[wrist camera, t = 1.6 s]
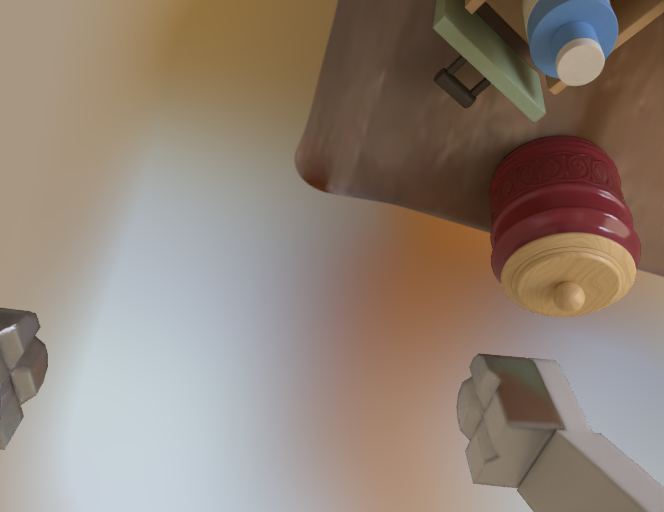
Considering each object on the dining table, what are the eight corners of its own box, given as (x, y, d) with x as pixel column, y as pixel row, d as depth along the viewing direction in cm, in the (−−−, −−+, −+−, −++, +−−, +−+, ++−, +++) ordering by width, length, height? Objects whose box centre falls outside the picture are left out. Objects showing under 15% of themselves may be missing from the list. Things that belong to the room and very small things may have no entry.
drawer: (493, 112, 50) (495, 152, 46) (404, 31, 46) (396, 66, 42) (678, -39, 39) (706, -6, 34) (581, -165, 35) (597, -147, 30)
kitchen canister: (551, 242, 62) (569, 366, 50) (465, 193, 59) (462, 312, 47) (645, 172, 53) (695, 304, 41) (549, 109, 50) (572, 232, 38)
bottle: (563, -74, 37) (594, 0, 28) (606, -23, 39) (650, 63, 29) (505, -15, 41) (514, 68, 31) (547, 29, 43) (568, 121, 33)
